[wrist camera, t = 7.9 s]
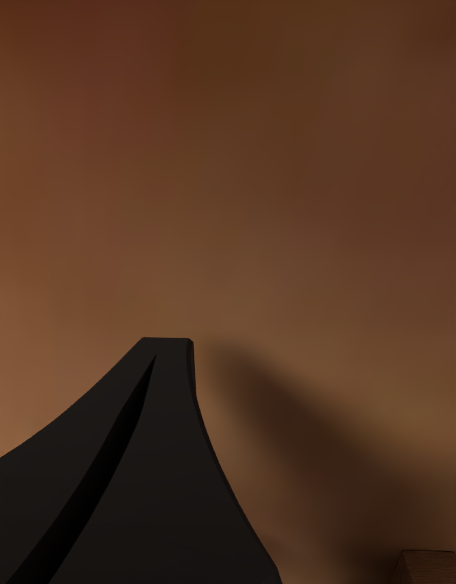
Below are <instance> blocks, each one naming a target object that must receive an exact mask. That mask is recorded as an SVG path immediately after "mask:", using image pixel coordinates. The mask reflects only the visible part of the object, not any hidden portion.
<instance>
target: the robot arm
mask: <svg viewBox="0 0 456 584" xmlns="http://www.w3.org/2000/svg"><path fill="white" fill-rule="evenodd" d="M0 584H282V581H281V578H280V575H279V572H278V569H277V567H276V565H275V563H274V562H273V560H272V559H271V557H270V556H269V554H268V552H267V551H266V549H265V548H264V546H263V544H262V543H261V541H260V539H259V538H258V536H257V535H256V533H255V531H254V530H253V528H252V526H251V524H250V523H249V521H248V519H247V517H246V515H245V514H244V512H243V510H242V508H241V506H240V505H239V503H238V501H237V499H236V497H235V495H234V493H233V491H232V489H231V487H230V485H229V483H228V481H227V478H226V476H225V474H224V472H223V470H222V468H221V466H220V464H219V461H218V459H217V456H216V454H215V452H214V449H213V447H212V444H211V441H210V439H209V436H208V433H207V431H206V428H205V425H204V422H203V418H202V415H201V412H200V408H199V405H198V401H197V397H196V380H195V362H194V344H193V341H191V340H190V339H189V338H151V337H143V338H142V339H140V340H139V341H138V342H137V343H136V344H135V345H134V346H133V347H132V348H131V349H130V350H129V351H128V352H127V353H126V355H125V356H124V357H123V358H122V359H121V360H120V361H119V362H118V363H117V364H116V365H115V366H114V367H113V368H112V369H111V370H110V371H109V372H108V373H107V374H106V375H105V376H103V377H102V378H101V379H100V380H99V381H98V382H97V383H96V384H95V385H94V386H93V387H92V388H91V389H90V390H89V391H88V392H87V393H85V394H84V395H83V396H82V397H81V398H80V399H79V400H77V401H76V402H75V403H74V404H73V405H72V406H71V407H69V408H68V409H67V410H66V411H65V412H64V413H62V414H61V415H60V416H59V417H57V418H56V419H55V420H54V421H52V422H51V423H50V424H48V425H47V426H46V427H44V428H43V429H42V430H40V431H39V432H38V433H36V434H35V435H33V436H32V437H31V438H29V439H28V440H26V441H25V442H24V443H22V444H21V445H19V446H18V447H16V448H15V449H13V450H11V451H10V452H8V453H7V454H5V455H4V456H2V457H1V458H0Z"/></svg>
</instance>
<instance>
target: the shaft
mask: <svg viewBox="0 0 456 584" xmlns="http://www.w3.org/2000/svg"><path fill="white" fill-rule="evenodd" d="M391 584H456V555H455V553H454V552H437V551H408V550H402V553H401V556H400V559H399V562H398V565H397V568H396V571H395V573H394V576H393V579H392V582H391Z"/></svg>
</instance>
